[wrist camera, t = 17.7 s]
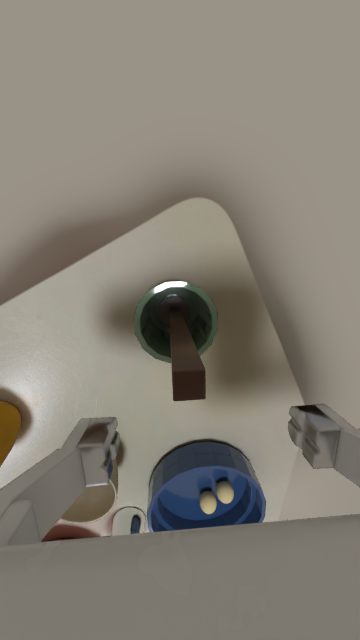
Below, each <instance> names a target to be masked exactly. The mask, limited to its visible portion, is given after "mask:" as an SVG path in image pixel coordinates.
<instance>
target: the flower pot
mask: <svg viewBox="0 0 360 640" xmlns="http://www.w3.org/2000/svg"><path fill="white" fill-rule="evenodd" d="M117 490H118V469H117V462H116V459H115V460H114V461H113V470H112V474H111V477H110V480H109V483H108V485H99V486H90V487H86V489H85V490H84V491H83V492H82V493H81V495H80V496H79V497H78V498H77V499H76V500H75V502H74V503H73V504H72V505H71V506H70V507H69V509H68V510H67V511H66V512H65V513H64V514H63V516H62V517H61V518H60V519H59V520H61V521H63V522H67V523H72V524H87V523H92V522H95V521H97V520H100V519H101V518H103V517H105V516H106V515H107V514H108V513H109V512H110V511H111V510H112V509H113V507H114V505H115V503H116V499H117Z"/></svg>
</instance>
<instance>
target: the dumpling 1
mask: <svg viewBox="0 0 360 640" xmlns="http://www.w3.org/2000/svg"><path fill="white" fill-rule="evenodd" d="M216 505H217V502H216V498H215V496H214V494H213V493H212V492H210V491H204V492H203V493H202V494H201V496H200V507H201V509H202V510H203V512H205V513H206V514H212V513H213V512H214V511H215V509H216Z"/></svg>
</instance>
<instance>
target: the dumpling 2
mask: <svg viewBox="0 0 360 640" xmlns="http://www.w3.org/2000/svg"><path fill="white" fill-rule="evenodd" d="M216 493H217V496H218V498H219V500H220V501H221V502H222V503H225V504H228V503H230V502H231V501H232V500H233V497H234V491H233V488H232V486H231V484H230V483H228V482H227V481H221V482H219V483H218V485H217V488H216Z"/></svg>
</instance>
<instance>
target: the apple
mask: <svg viewBox="0 0 360 640" xmlns="http://www.w3.org/2000/svg"><path fill="white" fill-rule="evenodd" d="M20 426H21V416H20V413H19V412H18V410H17V408H16V407H14V406H13V405H11V404H10V403H8V402H4V401H0V466H1V465H2V463H3V462H4V460H5V459H6V457H7V456H8V454H9V452H10V451H11V449H12V447H13V445H14V443H15V441H16V438H17V436H18V434H19V431H20Z"/></svg>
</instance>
